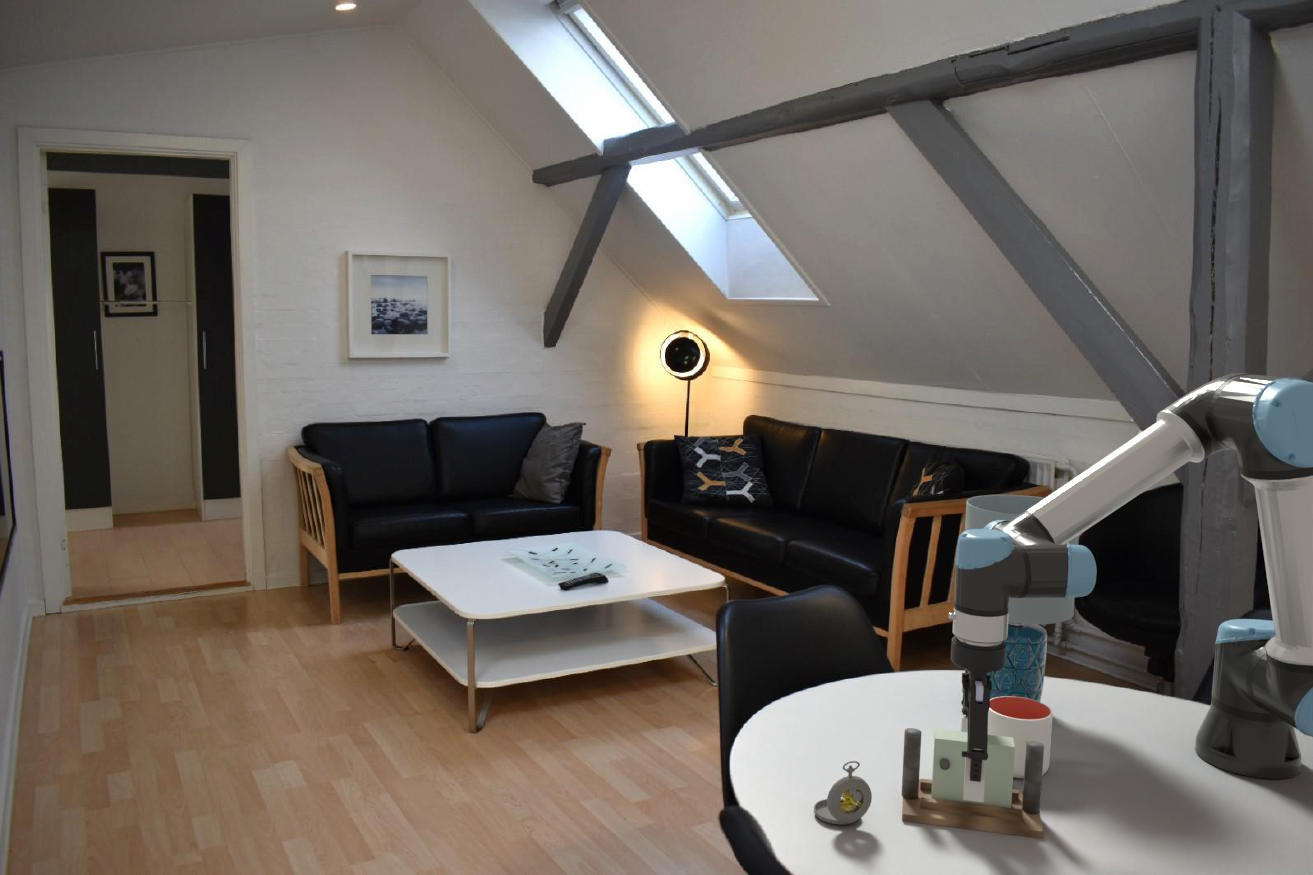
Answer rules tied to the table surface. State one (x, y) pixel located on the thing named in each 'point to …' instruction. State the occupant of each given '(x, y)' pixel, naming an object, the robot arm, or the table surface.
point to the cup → (1021, 726)
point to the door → (952, 768)
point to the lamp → (1020, 609)
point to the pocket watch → (845, 800)
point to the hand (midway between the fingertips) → (970, 778)
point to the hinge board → (971, 815)
